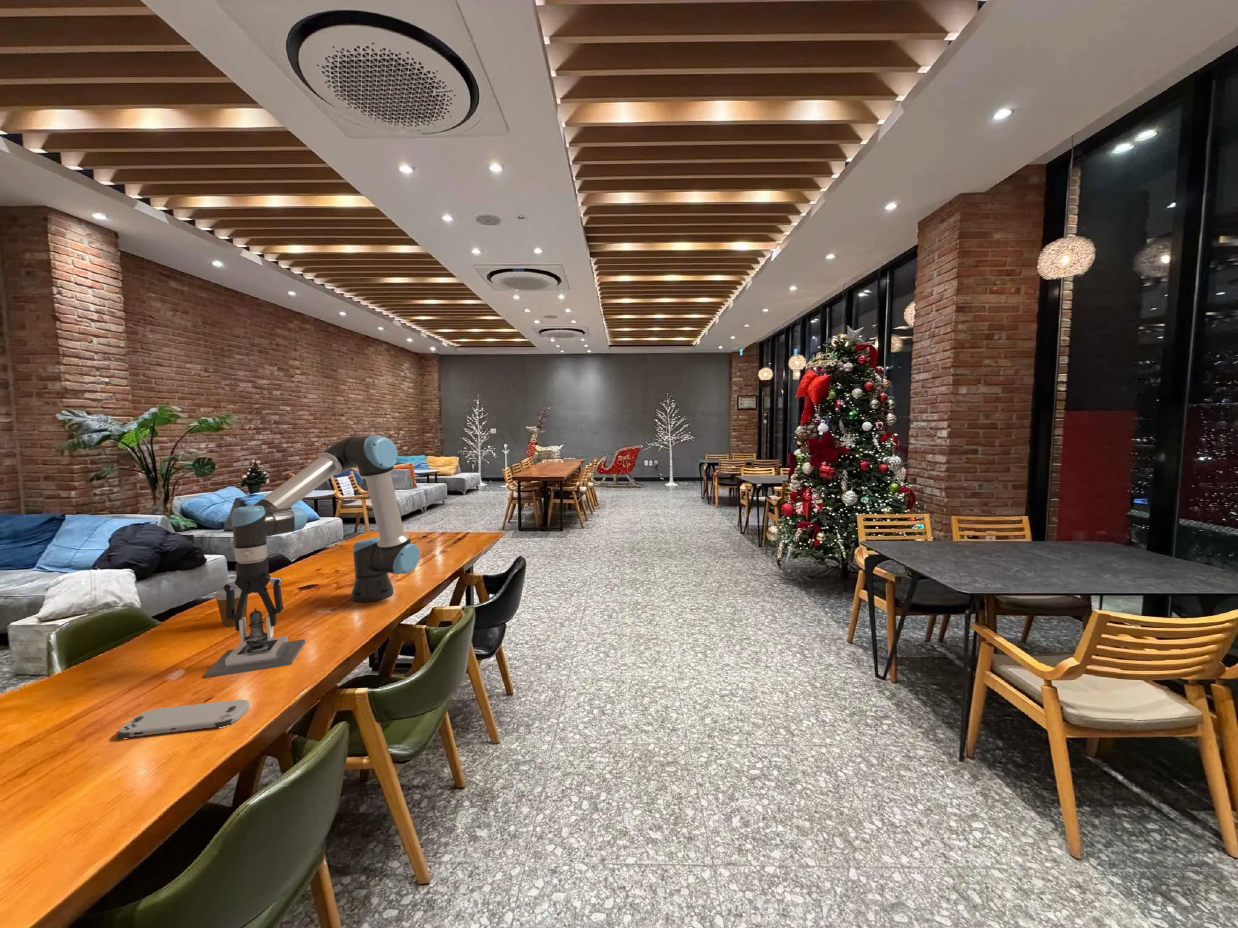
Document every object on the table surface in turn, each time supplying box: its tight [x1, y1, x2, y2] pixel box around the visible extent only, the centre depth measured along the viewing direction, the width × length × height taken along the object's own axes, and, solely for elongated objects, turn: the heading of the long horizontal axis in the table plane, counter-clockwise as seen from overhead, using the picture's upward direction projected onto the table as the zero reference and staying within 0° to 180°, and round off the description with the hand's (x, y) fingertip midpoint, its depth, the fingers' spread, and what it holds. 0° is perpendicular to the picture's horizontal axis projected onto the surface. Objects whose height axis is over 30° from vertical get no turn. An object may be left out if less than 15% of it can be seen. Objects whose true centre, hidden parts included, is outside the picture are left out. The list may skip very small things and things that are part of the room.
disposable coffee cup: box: [214, 586, 249, 628], centre depth 174 cm, size 10×10×12 cm
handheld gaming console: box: [116, 699, 250, 740], centre depth 115 cm, size 23×3×10 cm
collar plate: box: [204, 635, 306, 679], centre depth 146 cm, size 20×16×4 cm
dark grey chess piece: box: [245, 608, 269, 653], centre depth 146 cm, size 6×6×12 cm
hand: (257, 638), depth 146 cm, fingers closed on dark grey chess piece, 6 cm apart
